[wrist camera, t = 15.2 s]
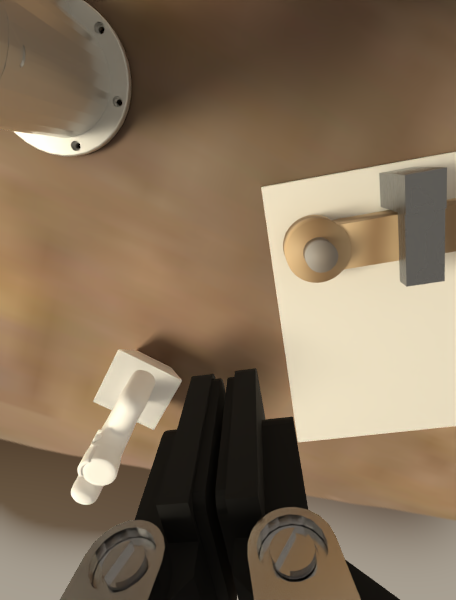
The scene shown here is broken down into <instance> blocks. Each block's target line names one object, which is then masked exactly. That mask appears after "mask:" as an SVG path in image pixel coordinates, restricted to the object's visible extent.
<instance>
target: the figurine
mask: <svg viewBox="0 0 456 600" xmlns="http://www.w3.org/2000/svg"><path fill="white" fill-rule="evenodd" d="M181 382H182V380H181V378H180V377H179V376H178V375H177V374H176V373H175V371H174V370H173V369H172V368H171V367H170V366H168V365H166V364H163V363H161V362H159V361H157V360H155V359H153V358H151V357H149V356H147V355H145V354H143V353H141V352H139V351H137V350H124V349H118V351H117V353H116V356H115V358H114V360H113V362H112V364H111V366H110V368H109V370H108V372H107V374H106V376H105V378H104V380H103V382H102V384H101V386H100V388H99V390H98V393H97V395H96V397H95V399H94V401H93V402H95V403H97V404H99V405H102V406H104V407H106V408H108V409H110V410H112V411H111V413H110V415H109V417H108V418H107V420H106V422H105V424H104V425H103V427H102V429H101V430H100V429H99V430H98V432H97V433H96V435H95V437H94V439H93V441H92V443H91V445H90V448H89V449H88V450H87V451H86V453H85V455H84V457H83V459H82V460H81V462H80V464H79V466H78V477H77V479H76V481H75V483H74V484H73V486H72V489H71V496H72V498H73V499H74V500H75V501H76V502H78V503H80V504H84V505H89V504H92V503H94V502H95V501H96V499H97V498H98V496H99V494H100V492H101V490H102V488H103V485H108V484H110V483H112V482H113V481H114V480H115V478H116V476H117V472H118V469H119V466H120V462H121V456H122V454H123V451H124V449H125V447H126V445H127V442H128V440H129V438H130V436H131V434H132V431H133V429H134V427H135V424H136V422H138V423H140V424H142V425H144V426H146V427H148V428H151V429H153V430H154V429H155V427H156V425H157V423H158V422H159V420H160V418H161V417H162V415H163V413H164V411H165V410H166V408H167V406H168V404H169V403H170V401H171V399H172V397H173V396H174V394H175V392H176V390H177V389H178V387H179V385H180V384H181Z"/></svg>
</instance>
